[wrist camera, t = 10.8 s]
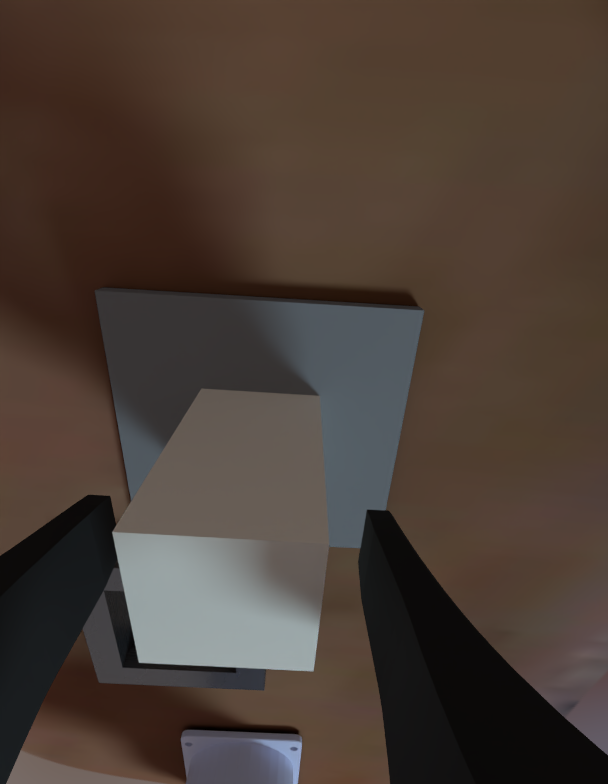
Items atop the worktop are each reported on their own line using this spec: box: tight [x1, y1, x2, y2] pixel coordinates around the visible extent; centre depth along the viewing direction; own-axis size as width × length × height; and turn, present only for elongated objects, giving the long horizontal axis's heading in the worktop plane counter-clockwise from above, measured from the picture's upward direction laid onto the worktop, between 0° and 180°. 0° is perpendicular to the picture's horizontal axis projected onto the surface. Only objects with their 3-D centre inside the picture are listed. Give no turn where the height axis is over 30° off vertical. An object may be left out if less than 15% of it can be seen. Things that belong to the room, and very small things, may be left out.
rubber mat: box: [95, 287, 424, 548], centre depth 15 cm, size 11×11×1 cm
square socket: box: [83, 558, 266, 690], centre depth 19 cm, size 9×9×2 cm
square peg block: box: [112, 389, 329, 671], centre depth 12 cm, size 4×4×7 cm
